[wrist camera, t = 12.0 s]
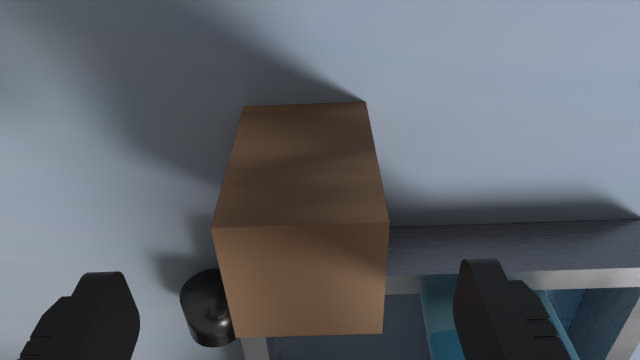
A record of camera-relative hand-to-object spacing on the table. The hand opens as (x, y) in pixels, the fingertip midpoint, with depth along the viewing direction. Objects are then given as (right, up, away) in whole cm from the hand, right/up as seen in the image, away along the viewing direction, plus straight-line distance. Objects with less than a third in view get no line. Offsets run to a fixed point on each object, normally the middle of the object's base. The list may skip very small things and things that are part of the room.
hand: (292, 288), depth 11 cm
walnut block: (0, +3, +5) cm, 6 cm away
